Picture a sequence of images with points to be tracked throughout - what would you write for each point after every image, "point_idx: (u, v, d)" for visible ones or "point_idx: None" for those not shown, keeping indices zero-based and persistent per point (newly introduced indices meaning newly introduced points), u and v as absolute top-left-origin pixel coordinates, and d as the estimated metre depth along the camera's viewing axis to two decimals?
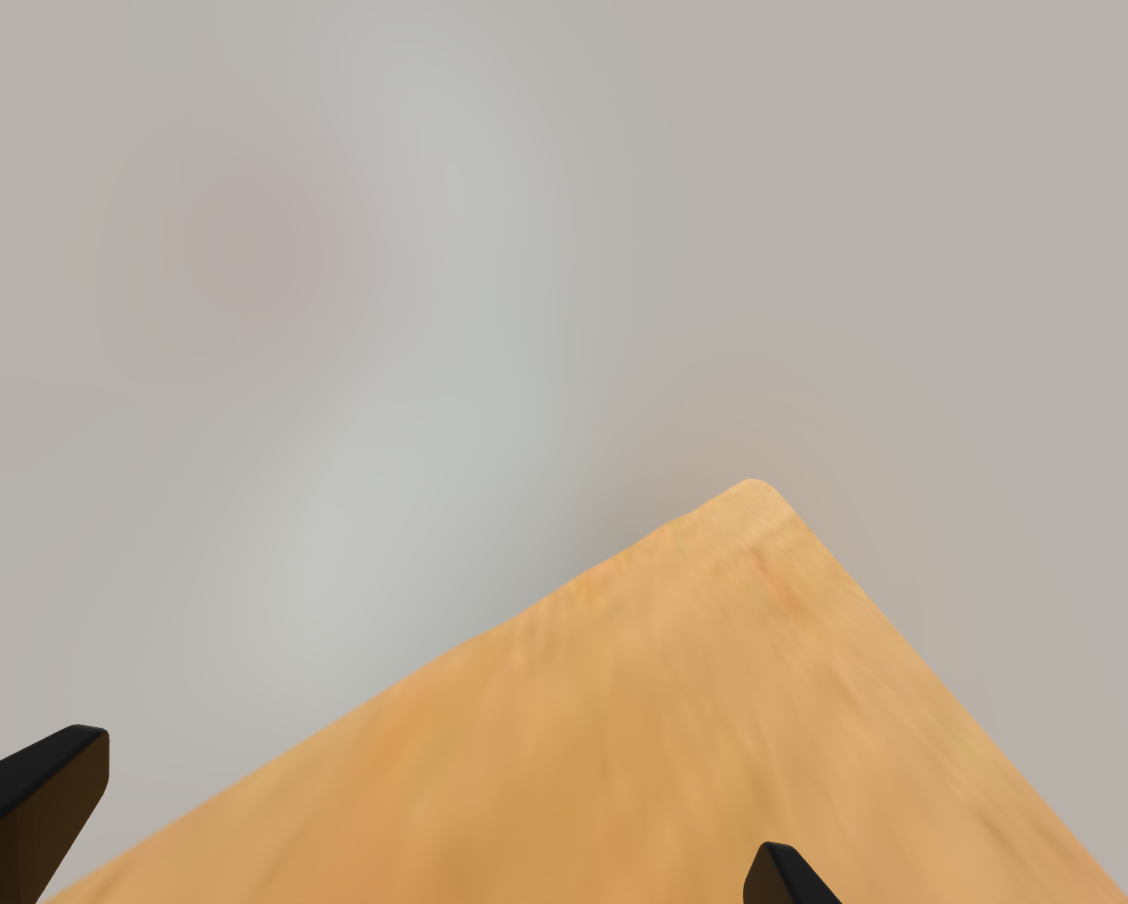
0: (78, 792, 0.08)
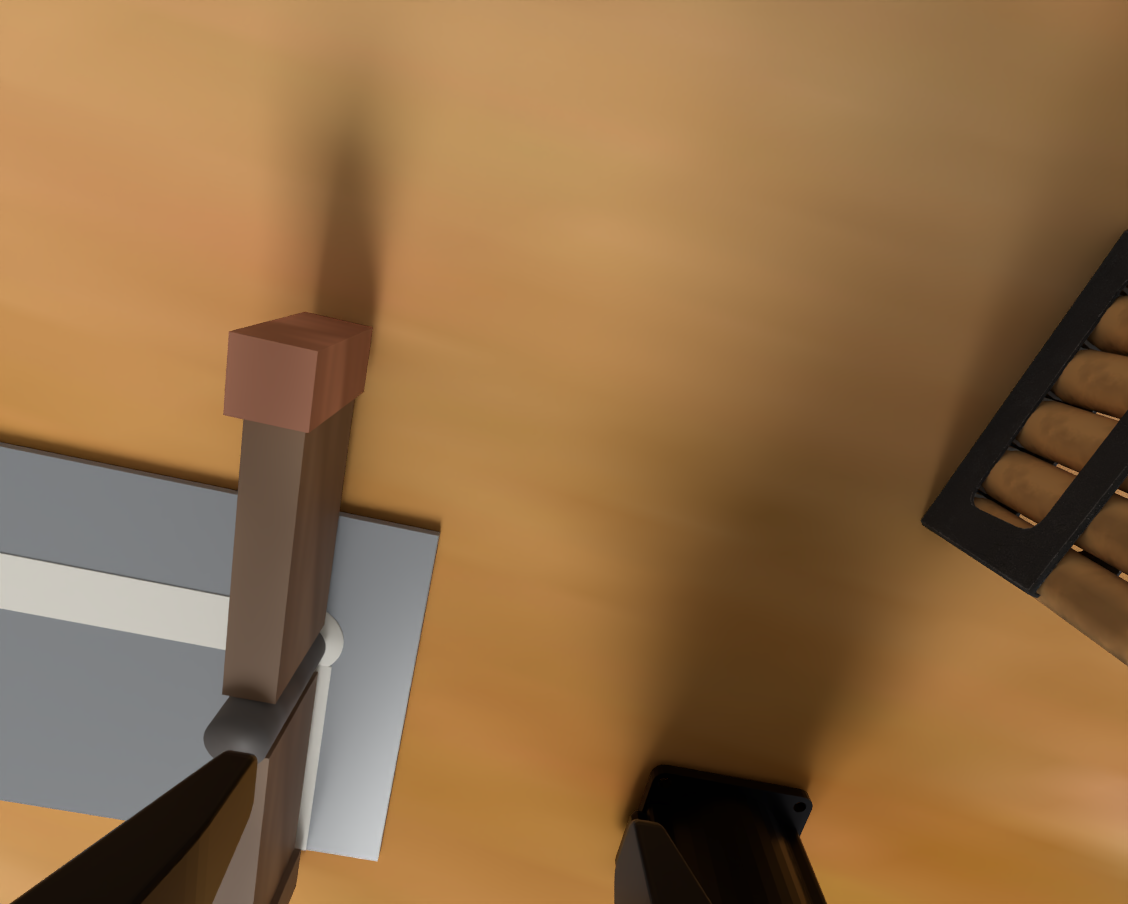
0: (235, 818, 0.08)
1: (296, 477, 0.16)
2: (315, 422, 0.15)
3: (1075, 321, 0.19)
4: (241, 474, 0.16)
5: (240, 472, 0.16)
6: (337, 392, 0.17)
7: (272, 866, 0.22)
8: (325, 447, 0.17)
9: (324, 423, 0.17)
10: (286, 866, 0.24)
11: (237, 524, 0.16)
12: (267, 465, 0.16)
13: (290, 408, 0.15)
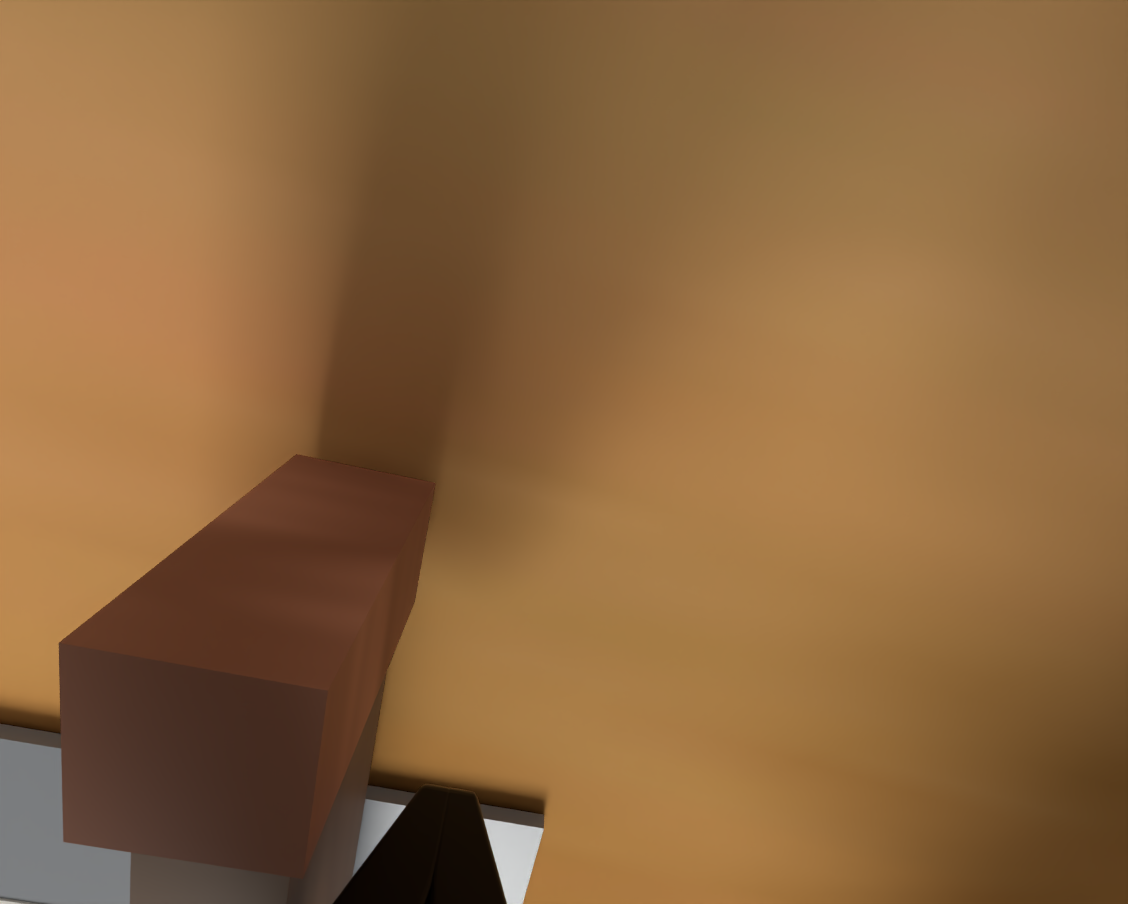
0: None
1: None
2: (321, 822, 0.06)
3: None
4: None
5: None
6: (371, 682, 0.07)
7: None
8: None
9: None
10: None
11: None
12: None
13: (251, 826, 0.05)
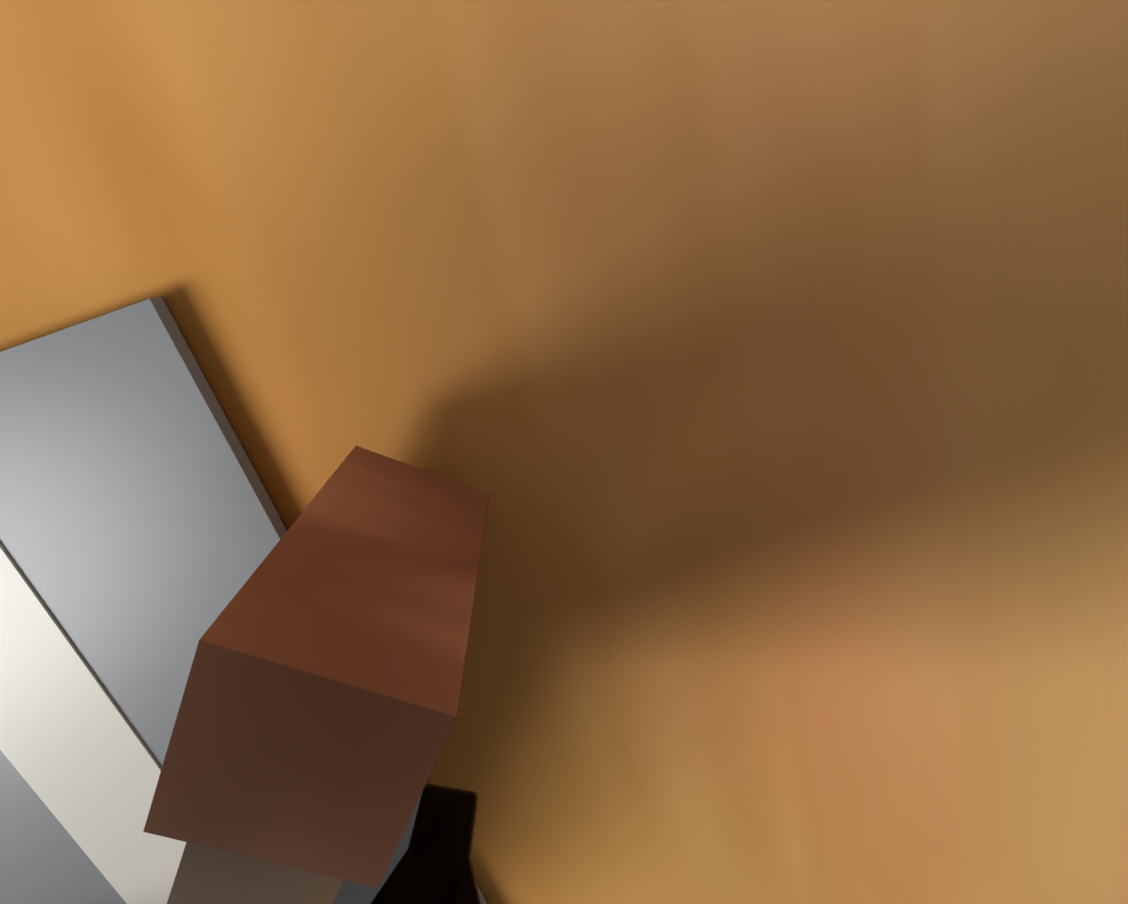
0: None
1: None
2: None
3: None
4: (170, 902, 0.06)
5: None
6: None
7: None
8: None
9: None
10: None
11: None
12: (242, 899, 0.06)
13: (342, 835, 0.05)
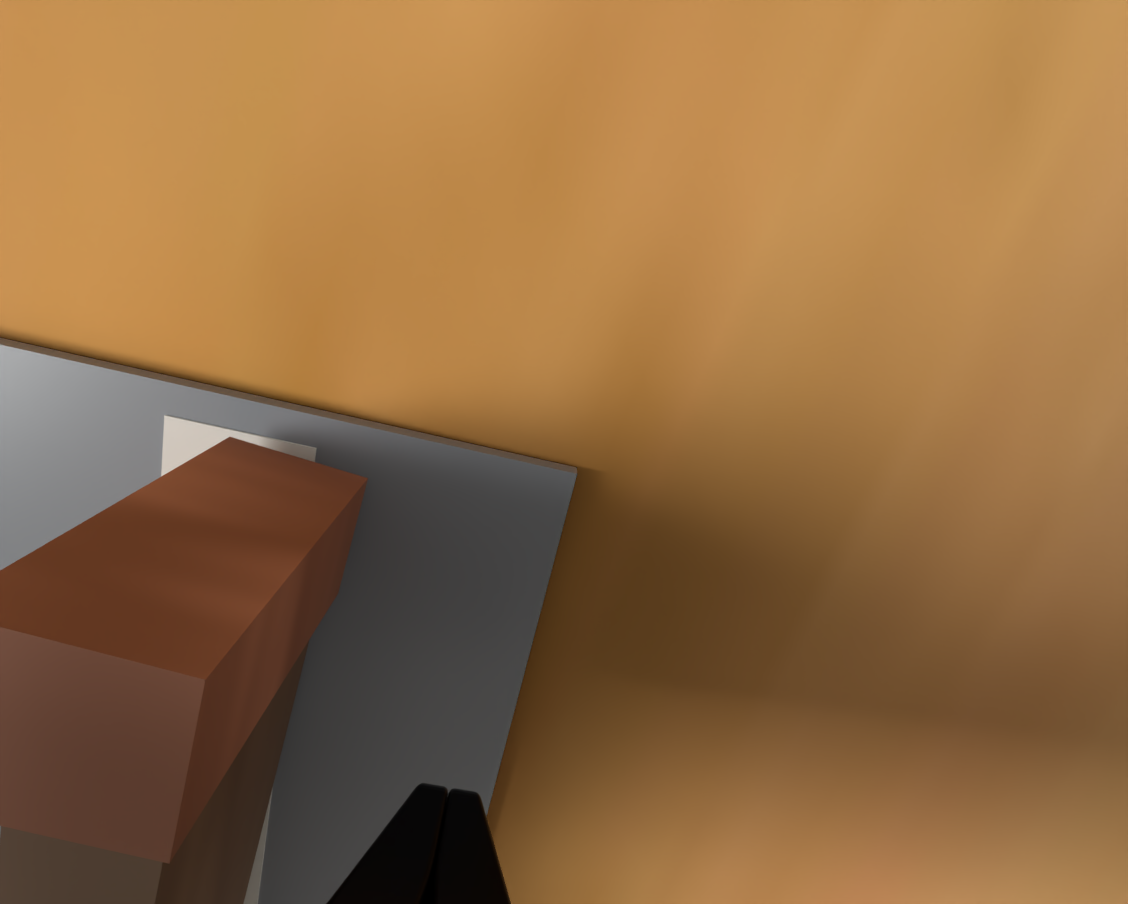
0: None
1: None
2: (199, 807, 0.06)
3: None
4: (6, 886, 0.06)
5: None
6: (273, 672, 0.07)
7: None
8: (239, 759, 0.08)
9: None
10: None
11: None
12: (69, 882, 0.06)
13: (119, 807, 0.05)
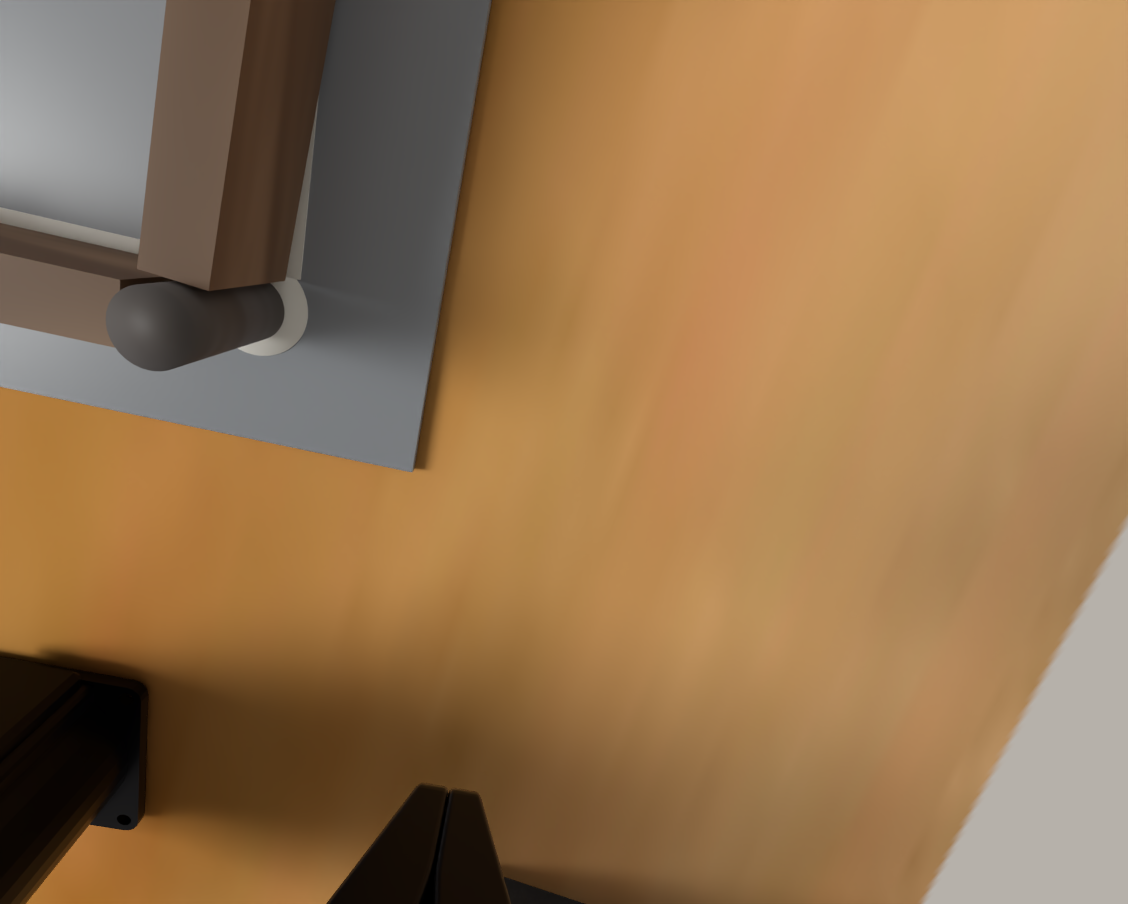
0: None
1: None
2: None
3: None
4: None
5: None
6: None
7: None
8: None
9: None
10: None
11: None
12: None
13: None
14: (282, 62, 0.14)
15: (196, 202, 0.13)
